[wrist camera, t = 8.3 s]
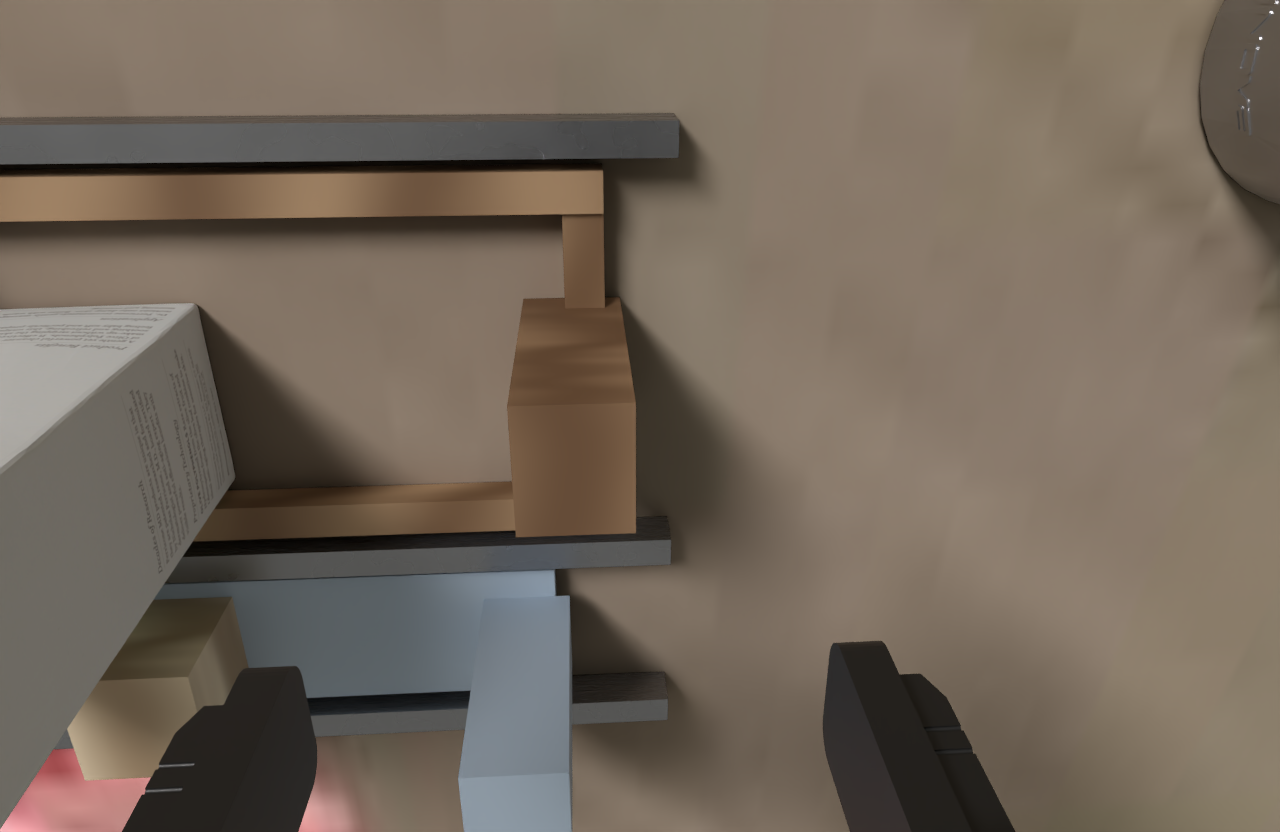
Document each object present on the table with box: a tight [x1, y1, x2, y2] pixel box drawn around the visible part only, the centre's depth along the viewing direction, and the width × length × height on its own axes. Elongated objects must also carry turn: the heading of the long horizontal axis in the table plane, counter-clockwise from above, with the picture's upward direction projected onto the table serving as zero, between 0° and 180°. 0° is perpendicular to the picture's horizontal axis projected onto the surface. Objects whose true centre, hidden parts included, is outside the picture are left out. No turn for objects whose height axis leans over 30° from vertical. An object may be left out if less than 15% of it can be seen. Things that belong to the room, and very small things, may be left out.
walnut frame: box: [0, 164, 636, 541], centre depth 25 cm, size 22×12×8 cm, turn 90°
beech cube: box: [67, 597, 249, 781], centre depth 30 cm, size 4×4×4 cm
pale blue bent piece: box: [154, 569, 572, 832], centre depth 29 cm, size 18×5×9 cm, turn 90°
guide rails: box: [0, 113, 679, 749], centre depth 29 cm, size 34×22×2 cm, turn 90°
